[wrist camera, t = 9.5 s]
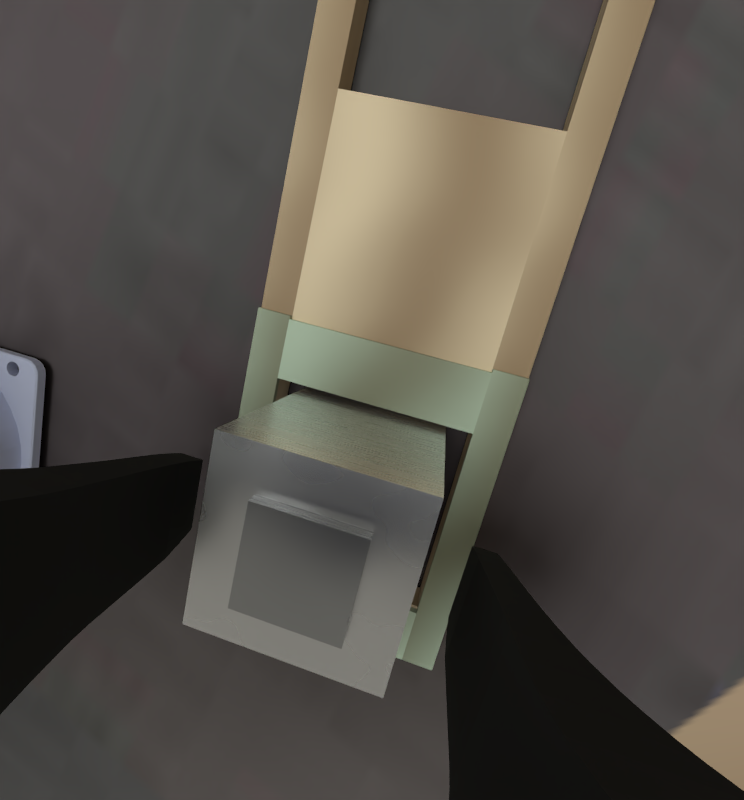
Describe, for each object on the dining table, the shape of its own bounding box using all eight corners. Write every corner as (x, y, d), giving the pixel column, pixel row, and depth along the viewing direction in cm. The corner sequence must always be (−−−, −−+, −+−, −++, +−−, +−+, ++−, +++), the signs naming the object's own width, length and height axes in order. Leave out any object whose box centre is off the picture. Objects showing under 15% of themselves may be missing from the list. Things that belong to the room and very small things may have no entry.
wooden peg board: (224, 571, 16) (206, 591, 15) (381, -251, 11) (373, -323, 9) (432, 645, 15) (430, 672, 14) (720, -225, 10) (758, -301, 8)
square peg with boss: (286, 506, 15) (173, 633, 9) (312, 384, 14) (205, 432, 8) (409, 545, 14) (381, 711, 8) (445, 421, 13) (443, 505, 7)
